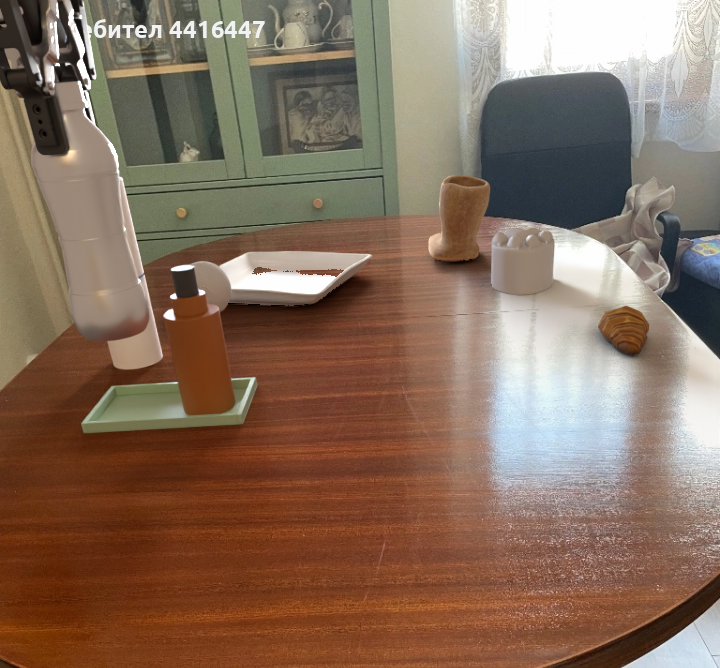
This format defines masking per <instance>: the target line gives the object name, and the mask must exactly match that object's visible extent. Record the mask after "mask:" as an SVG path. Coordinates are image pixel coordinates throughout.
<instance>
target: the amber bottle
mask: <svg viewBox="0 0 720 668" xmlns="http://www.w3.org/2000/svg"><path fill="white" fill-rule="evenodd" d="M170 274H171V278H172V283H173V287H174V293H173V294H171V295H170V296H169V299H170V303H171V309H168V310H167V311H165V312H164V313H163V315H162V317H163V321H164V326H165V331H166V336H167V339H168V340H167V341H168V344H169V349H170V353H171V358H172V362H173V367H174V372H175V376H176V382H178V386H179V390H180V395H181V399H182V404H183V408H184V412H185V413H186V414H188V415H206V414H222V413H224V412H226V411H228V410H230V409H231V408H233V407H234V405H235V403H236V401H235V395H234V390H233V384H232V379H233V378H232V373H231V368H230V363H229V356H228V352H227V345H226V340H225V334H224V327H223V323H222V317H221V312H219V307H218V306H216V305H214V304H208V303H207V299H206V293H205V291H203V290H198V285H197V279H196V274H195V269H194V266H192V265H190V264H182V265H178V266H177V265H176V266H174V267H172V268H170Z"/></svg>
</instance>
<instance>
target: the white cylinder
mask: <svg viewBox="0 0 720 668" xmlns="http://www.w3.org/2000/svg"><path fill="white" fill-rule="evenodd" d="M189 265H192V266H194V269H195V274H196V279H197V285H198V290H203V291H205V293H206V299H207V303H208V304H214V305H216V306H218V307H219V312H220V313H221V312H223V311H224V310H225V309H226V308H227V306H228V305H229V304H228V303H229V301H230V297H231V284H230V281H229V278H228V276H227V275H226V273H225V272H224V271H223V270H222V269H221V268H220V267H219V266H220V265H217V264H216V263H214V262H209V261H205V260H204V261H203V260H201V261H195V262H192V263H190V264H189Z"/></svg>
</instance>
